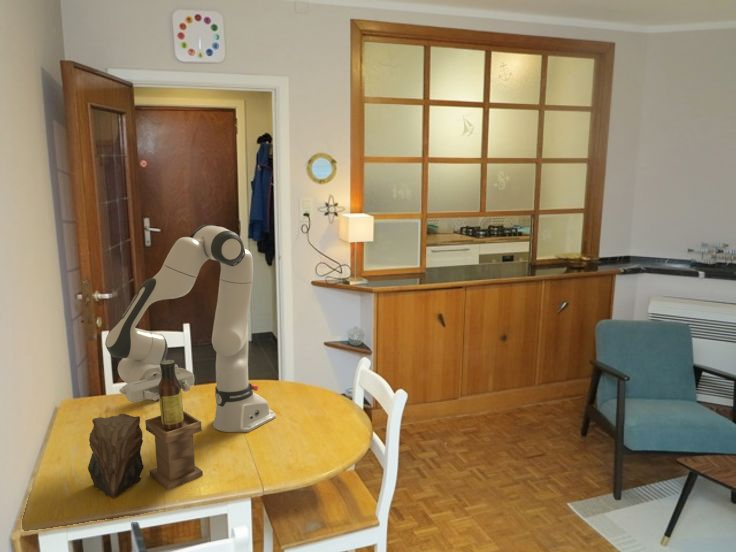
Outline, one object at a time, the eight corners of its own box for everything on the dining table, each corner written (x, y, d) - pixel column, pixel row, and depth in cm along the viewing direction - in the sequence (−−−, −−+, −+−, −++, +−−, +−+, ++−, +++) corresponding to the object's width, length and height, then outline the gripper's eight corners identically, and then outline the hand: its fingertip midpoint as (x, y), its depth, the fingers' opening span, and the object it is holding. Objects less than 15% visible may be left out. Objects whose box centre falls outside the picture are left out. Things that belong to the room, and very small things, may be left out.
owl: (87, 484, 172) (81, 420, 168) (126, 466, 182) (122, 406, 178) (112, 499, 165) (106, 432, 161) (151, 480, 175) (147, 416, 171)
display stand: (183, 461, 186) (180, 409, 182) (203, 476, 178) (201, 421, 174) (148, 474, 178) (145, 420, 175) (168, 490, 170) (165, 433, 166)
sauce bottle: (188, 424, 175) (185, 360, 171) (171, 433, 170) (167, 367, 166) (173, 419, 179) (169, 356, 175) (156, 427, 173) (152, 362, 169)
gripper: (116, 379, 174) (137, 392, 164) (180, 362, 188) (203, 373, 179) (117, 399, 175) (138, 413, 165) (181, 381, 189) (204, 393, 180)
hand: (172, 392), depth 172 cm, fingers open, 8 cm apart
